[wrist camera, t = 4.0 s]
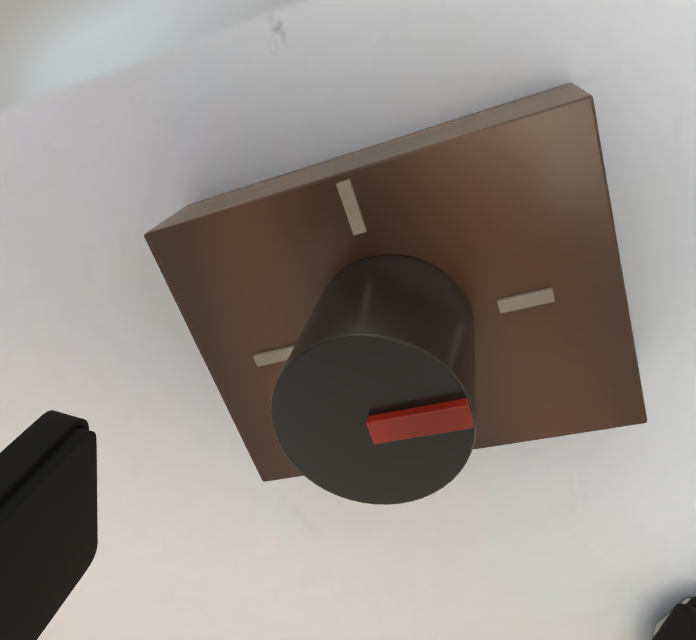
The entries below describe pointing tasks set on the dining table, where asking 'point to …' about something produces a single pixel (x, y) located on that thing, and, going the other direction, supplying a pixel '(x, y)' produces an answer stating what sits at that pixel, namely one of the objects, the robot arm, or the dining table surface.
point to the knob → (381, 384)
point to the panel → (437, 250)
